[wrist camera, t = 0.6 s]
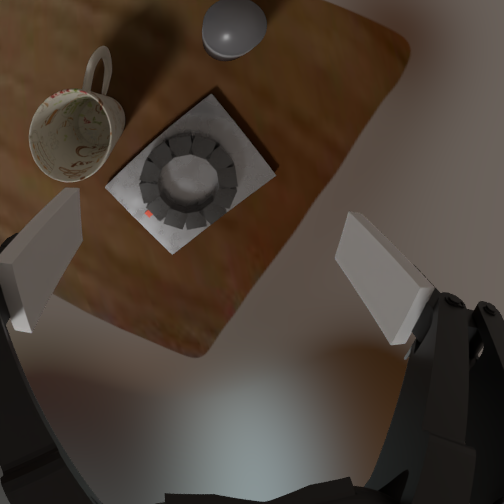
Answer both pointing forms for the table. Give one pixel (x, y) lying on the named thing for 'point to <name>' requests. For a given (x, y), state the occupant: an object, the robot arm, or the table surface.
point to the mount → (190, 175)
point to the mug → (77, 127)
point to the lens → (232, 28)
